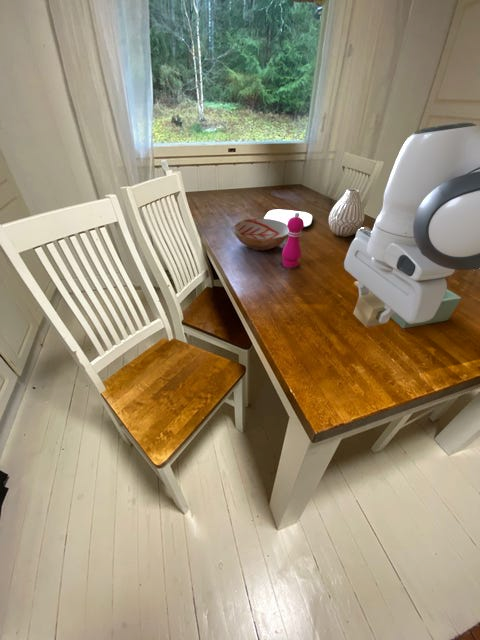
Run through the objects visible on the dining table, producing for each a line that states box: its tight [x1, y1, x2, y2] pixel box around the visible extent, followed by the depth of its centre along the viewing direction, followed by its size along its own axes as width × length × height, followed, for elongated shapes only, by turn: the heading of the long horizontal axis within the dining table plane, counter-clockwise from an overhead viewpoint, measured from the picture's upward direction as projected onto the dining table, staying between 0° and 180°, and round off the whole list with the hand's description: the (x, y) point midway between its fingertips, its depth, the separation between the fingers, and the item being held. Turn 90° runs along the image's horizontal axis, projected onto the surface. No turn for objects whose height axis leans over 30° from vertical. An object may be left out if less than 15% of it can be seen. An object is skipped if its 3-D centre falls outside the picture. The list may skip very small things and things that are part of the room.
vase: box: [328, 188, 365, 238], centre depth 128 cm, size 16×16×20 cm
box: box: [390, 288, 462, 329], centre depth 83 cm, size 14×16×8 cm
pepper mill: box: [281, 213, 305, 268], centre depth 103 cm, size 7×7×20 cm
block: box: [352, 294, 387, 328], centre depth 53 cm, size 4×4×4 cm
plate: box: [263, 209, 313, 228], centre depth 148 cm, size 25×25×2 cm
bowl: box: [232, 217, 289, 252], centre depth 120 cm, size 25×25×8 cm
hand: (371, 311), depth 53 cm, fingers closed on block, 4 cm apart
